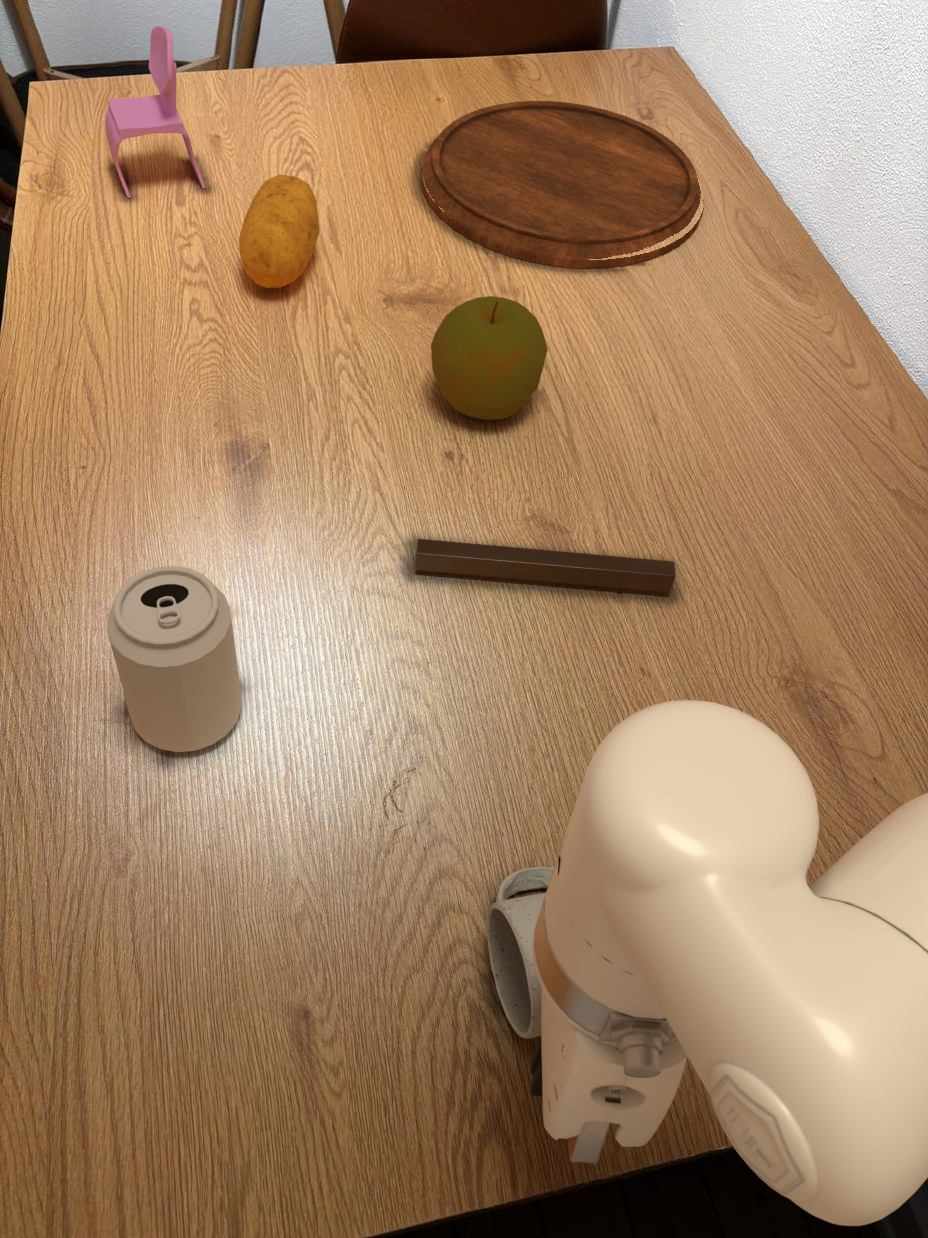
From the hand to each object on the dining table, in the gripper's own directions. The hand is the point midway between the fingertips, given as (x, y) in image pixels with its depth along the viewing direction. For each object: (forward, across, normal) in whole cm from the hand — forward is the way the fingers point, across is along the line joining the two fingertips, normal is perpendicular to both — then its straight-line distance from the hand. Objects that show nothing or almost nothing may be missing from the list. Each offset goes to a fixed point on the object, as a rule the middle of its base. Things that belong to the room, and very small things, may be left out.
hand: (560, 1082), depth 58 cm
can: (+6, +24, +25) cm, 35 cm away
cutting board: (+6, +99, -2) cm, 99 cm away
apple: (+6, +60, +5) cm, 61 cm away
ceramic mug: (+6, +9, 0) cm, 10 cm away
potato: (+6, +79, +26) cm, 83 cm away
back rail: (+6, +40, 0) cm, 40 cm away
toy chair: (+6, +93, +42) cm, 102 cm away
